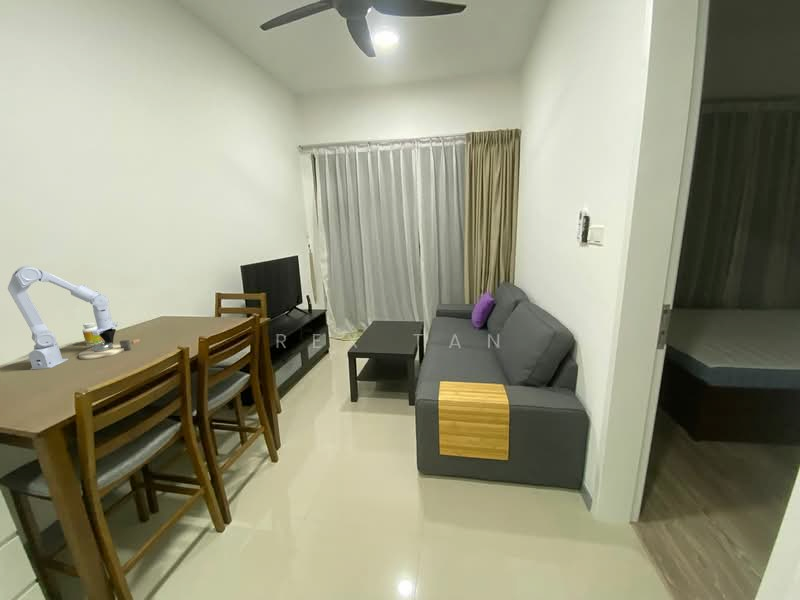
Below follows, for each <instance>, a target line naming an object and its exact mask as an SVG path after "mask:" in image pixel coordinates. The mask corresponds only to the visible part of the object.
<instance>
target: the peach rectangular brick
mask: <svg viewBox="0 0 800 600" xmlns="http://www.w3.org/2000/svg"><path fill="white" fill-rule="evenodd" d="M139 341H140V338H137V339H133V340H131V343H132V344H136V342H137V343H140V342H141V341H140V342H139Z"/></svg>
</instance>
